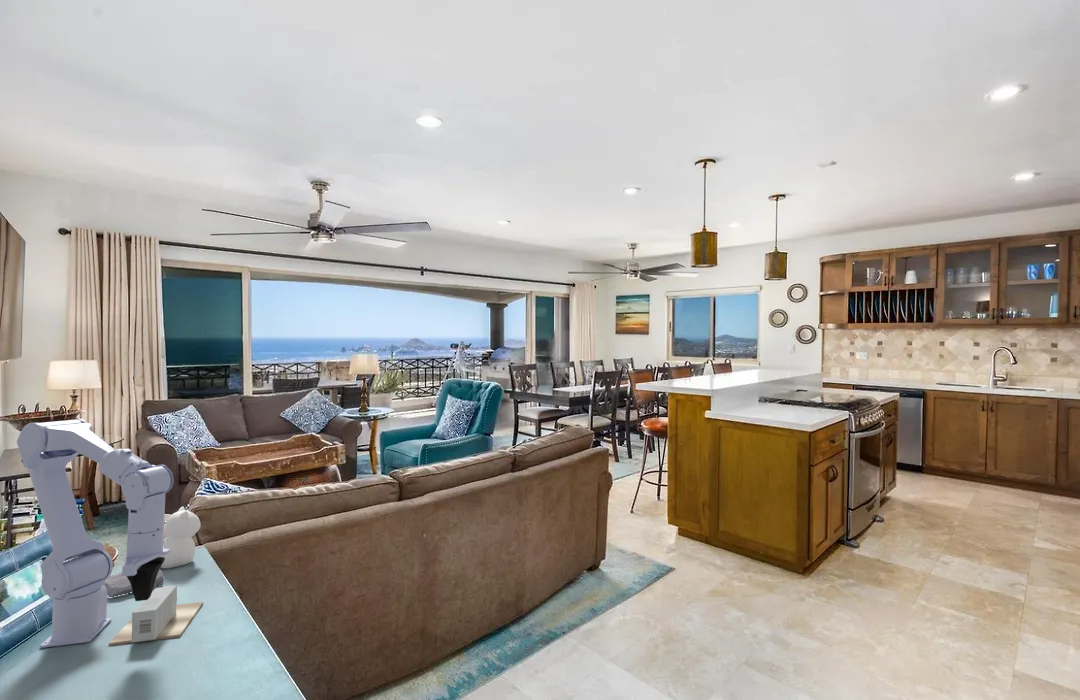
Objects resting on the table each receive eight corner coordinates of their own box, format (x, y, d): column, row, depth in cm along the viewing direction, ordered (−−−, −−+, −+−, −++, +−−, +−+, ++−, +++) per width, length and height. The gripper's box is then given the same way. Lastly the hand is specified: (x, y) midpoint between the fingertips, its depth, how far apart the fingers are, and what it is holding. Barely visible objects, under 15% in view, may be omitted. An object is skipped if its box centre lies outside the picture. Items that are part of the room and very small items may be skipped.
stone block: (167, 590, 131) (145, 574, 135) (170, 572, 130) (147, 557, 134) (112, 611, 120) (90, 594, 124) (115, 592, 119) (92, 575, 124)
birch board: (141, 610, 116) (141, 608, 116) (202, 604, 119) (203, 601, 119) (108, 645, 102) (108, 642, 102) (179, 637, 105) (180, 634, 105)
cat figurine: (201, 564, 142) (204, 509, 143) (144, 576, 134) (148, 517, 134) (195, 555, 149) (198, 503, 150) (140, 565, 140) (144, 509, 141)
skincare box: (129, 643, 102) (154, 615, 113) (155, 639, 103) (177, 612, 114) (131, 611, 102) (155, 587, 113) (156, 608, 103) (178, 585, 114)
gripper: (155, 539, 96) (152, 613, 96) (182, 517, 110) (179, 581, 110) (109, 542, 94) (106, 618, 94) (142, 519, 108) (139, 585, 108)
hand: (142, 599), depth 102 cm, fingers closed
